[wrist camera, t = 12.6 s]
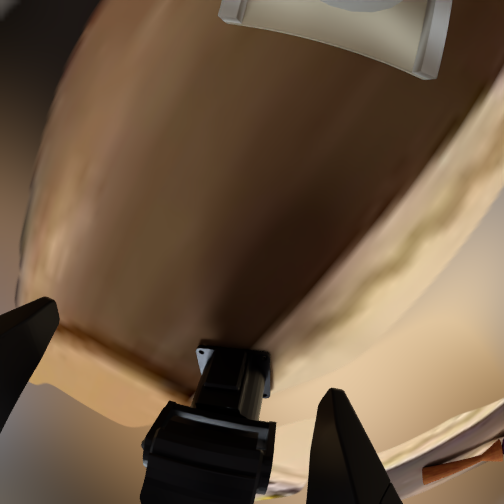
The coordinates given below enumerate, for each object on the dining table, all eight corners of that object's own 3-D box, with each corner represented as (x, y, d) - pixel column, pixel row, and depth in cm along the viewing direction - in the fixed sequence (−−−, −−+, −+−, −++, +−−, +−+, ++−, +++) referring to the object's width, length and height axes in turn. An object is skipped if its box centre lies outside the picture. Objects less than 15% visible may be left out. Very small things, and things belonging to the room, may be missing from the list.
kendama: (421, 483, 32) (539, 439, 23) (421, 454, 37) (530, 412, 28) (425, 496, 33) (534, 456, 24) (425, 469, 38) (527, 431, 29)
